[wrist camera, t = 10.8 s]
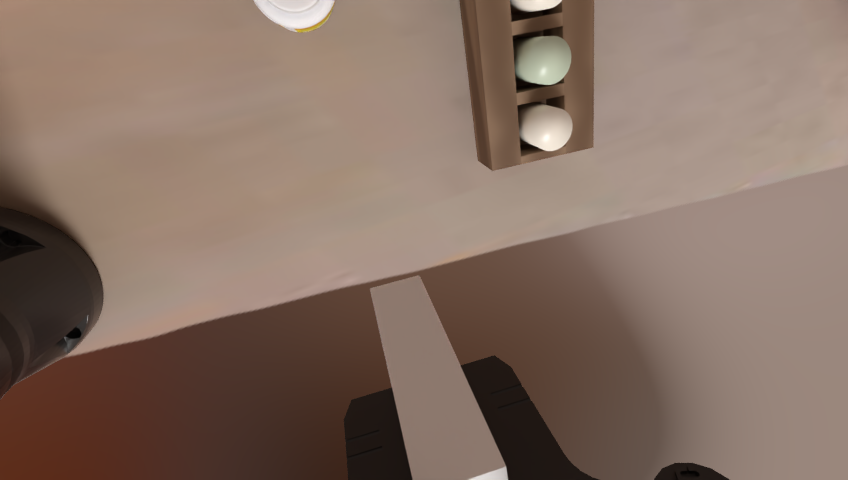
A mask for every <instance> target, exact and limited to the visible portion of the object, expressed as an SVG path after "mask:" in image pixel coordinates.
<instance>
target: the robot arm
mask: <svg viewBox="0 0 848 480" xmlns="http://www.w3.org/2000/svg"><path fill="white" fill-rule="evenodd" d="M370 291H371V296H372V300H373V305H374V309H375V314H376V318H377V323H378V326H379V332H380V336H381V341H382V345H383V349H384V354H385V358H386V363H387V367H388V372H389V376H390V381H391V385H392V388H389V389H386V390H383V391H379V392H376V393H373V394H369V395H366V396H363V397H360V398H357V399H353V400H351V403H350V405H349V408H348V410H347V413H346V416H345V418H344V427H345V440H346V454H347V468H348V480H598V479H596V478H592V477H591V476H588V475H587V474H585V473H583V472H581V471H580V470H579V469H578V468H576V467H575V466H574V465H573V464H572V463H571V462H570V461H569V460H568V458H567V457H566V456H565V454H564V453H563V451H562V450H561V448H560V446H559V445H558V443H557V442H556V440H555V438H554V437H553V435H552V434H551V432H550V430H549V429H548V427H547V425H546V424H545V422H544V420H543V419H542V417H541V415H540V414H539V412H538V410H537V409H536V407H535V405H534V404H533V402H532V401H531V400H530V398H529V396H528V394H527V393H526V391H525V389H524V388H523V387H522V385H521V383H520V381H519V379H518V378H517V376H516V374H515V373H514V371H513V369H512V368H511V367H510V366H509V365H507V364H506V363H504V362H503V361H501V360H500V359H499V358H497V357H496V356H491V357H488V358H484V359H481V360H478V361H474V362H471V363H468V364H464V365H461V366H460V364H459V362H458V360H457V357H456V355H455V353H454V351H453V348H452V346H451V344H450V342H449V340H448V337H447V335H446V333H445V331H444V329H443V326H442V324H441V322H440V320H439V318H438V315H437V314H436V311H435V309H434V307H433V304H432V302H431V300H430V298H429V296H428V293H427V291H426V289H425V287H424V285H423V282H422V280H421V278H420V276H415V277H411V278H407V279H404V280H400V281H396V282H393V283H389V284H385V285H381V286H378V287H374V288H370ZM102 306H103V289H102V284H101V280H100V277H99V275H98V272H97V270H96V268H95V266H94V265H93V263H92V262H91V260H90V259H89V257H88V256H87V255H86V254H85V252H84V251H83V250H82V249H81V248H80V247H79V246H78V245H77V244H76V243H75V242H74V241H73V240H71V239H70V238H69V237H68V236H66V235H65V234H64V233H62V232H61V231H59V230H58V229H56V228H54V227H53V226H51V225H49V224H47V223H45V222H43V221H41V220H39V219H37V218H34V217H32V216H29V215H27V214H24V213H21V212H17V211H14V210H10V209H5V208H0V399H1V398H2V397H3V395H4V394H5V393H6V392H7V391H8V390H9V389H10V388H11V387H12V386H13V385H14V384H16V383H18V382H19V381H21V380H23V379H25V378H27V377H28V376H30V375H32V374H34V373H36V372H38V371H39V370H41V369H43V368H45V367H47V366H49V365H50V364H52V363H54V362H56V361H58V360H60V359H61V358H63V357H65V356H66V355H67V354H69V353H70V352H71V351H72V350H74V349H75V348H76V347H77V346H78V345H79V344H80V343H81V342H82V341H83V339H84V338H85V337H86V336H87V334H88V333H89V332H90V331H91V330H92V328H93V327H94V325H95V324H96V322H97V320H98V319H99V316H100V314H101V310H102ZM654 480H729V479H728V478H726V477H724V476H723V475H721V474H719V473H718V472H716V471H714V470H713V469H711V468H707V467H704V466H701V465H697V464H694V463H674V464H672V465H669V466H667V467H665V468H662V469H661V471H660V472H659V473H658V475H657V476H656V478H655V479H654Z"/></svg>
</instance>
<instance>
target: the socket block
mask: <svg viewBox="0 0 848 480" xmlns="http://www.w3.org/2000/svg"><path fill="white" fill-rule="evenodd" d="M460 8H461V16H462V25H463V34H464V42H465V51H466V60H467V69H468V77H469V86H470V95H471V103H472V112H473V121H474V130H475V138H476V147H477V156H478V161H479V162H481V163H482V164H484V165H485V166H486V167H488V168H489V169H491V170H492V171H494V170H498V169H502V168H507V167H511V166H515V165H520V164H524V163H528V162H532V161H537V160H541V159H545V158H550V157H554V156H558V155H562V154H567V153H571V152H575V151H580V150H584V149H588V148H592V147H593V119H594V0H562V1H561V2H560V3H559V4H558V5H557V6H555V7H553V8H550V9H545V10H539V11H533V12H528V13H522V14H512V13H511V9H510V0H460ZM541 36H558V37H560V38H562V39H564V40H565V41H566V42H567V44H568V45H569V47H570V50H571V64H570V67H569V70H568V72H567V73H566V75H565V76H564V77H563V78H562V79H561V80H560V81H559V82H557V83H555V84H552V85H543V84H537V83H531V82H525V81H518V80H515V66H514V52H513V41H515V40H516V39H519V38H523V37H541ZM531 102H536V103H540V104H544V105H548V106H552V107H556V108H560V109H563V110H565V111H566V112H567V113H568V114H569V115H570V117H571V119H572V125H573V126H572V133H571V136H570V138H569V140H568V141H567V142H566V144H565V145H564V146H562V147H561V148H559V149H557V150H554V151H545V150H542V149H540V148H538V147H536V146H534V145H531V144H529V143H527V142H525V141H523V140H520V137H519V123H518V109H517V105H521V104H526V103H531Z"/></svg>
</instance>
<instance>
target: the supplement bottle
mask: <svg viewBox="0 0 848 480" xmlns="http://www.w3.org/2000/svg"><path fill="white" fill-rule="evenodd" d="M254 2H255V4H256V5H257V7H258V8H259V9H260V10H261V11H262V12H263V14H265V15H266V16H267V17H268V18H269V19H270V20H272V21H273V22H275V23H277V24H278V25H280V26H282V27H284V28H286V29H288V30H291V31H294V32H310V31H313V30H315V29H317V28H319V27H321V26H322V25H323V24H324V23H325V22H326V21H327V20H328V18H329V17H330V15H331V12H332V10H333V6H334V3H335V0H254Z"/></svg>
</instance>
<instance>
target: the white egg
mask: <svg viewBox="0 0 848 480" xmlns="http://www.w3.org/2000/svg"><path fill="white" fill-rule="evenodd" d="M561 1H562V0H510V9H511V13H512V14H522V13H528V12H533V11H539V10H545V9H550V8H553V7H555V6H557V5H558V4H559V3H560V2H561Z"/></svg>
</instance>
